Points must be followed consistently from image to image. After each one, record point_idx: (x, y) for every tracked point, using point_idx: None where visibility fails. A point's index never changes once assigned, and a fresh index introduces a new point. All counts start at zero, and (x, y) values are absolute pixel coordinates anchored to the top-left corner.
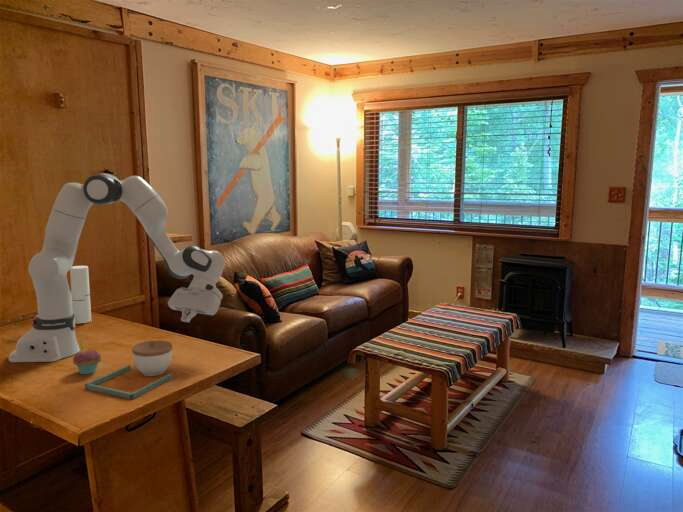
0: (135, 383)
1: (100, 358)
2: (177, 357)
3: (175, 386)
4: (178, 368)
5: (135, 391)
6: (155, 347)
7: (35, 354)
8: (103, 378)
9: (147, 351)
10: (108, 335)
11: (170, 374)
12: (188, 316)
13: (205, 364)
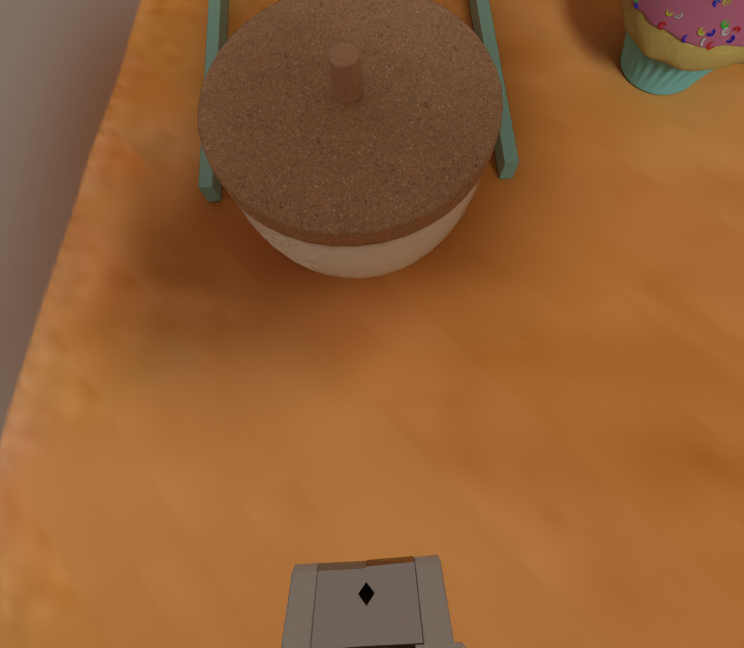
0: None
1: (649, 36)
2: (417, 462)
3: (132, 143)
4: (272, 316)
5: None
6: (296, 78)
7: None
8: (477, 17)
9: (289, 8)
10: None
11: (202, 177)
12: (288, 642)
13: (157, 452)
